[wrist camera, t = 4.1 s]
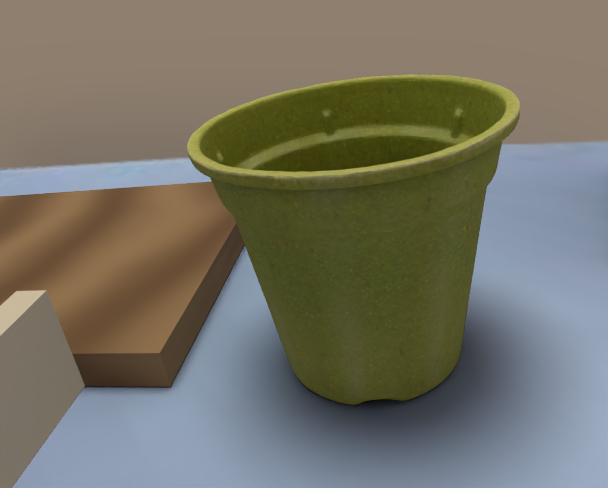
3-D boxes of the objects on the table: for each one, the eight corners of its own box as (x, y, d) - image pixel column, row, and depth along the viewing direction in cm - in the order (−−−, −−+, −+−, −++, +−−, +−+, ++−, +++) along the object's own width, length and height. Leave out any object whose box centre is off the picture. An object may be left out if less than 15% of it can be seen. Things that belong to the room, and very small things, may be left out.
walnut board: (-233, 384, 24) (-254, 356, 23) (2, 218, 38) (-6, 197, 37) (170, 386, 20) (159, 352, 20) (266, 201, 34) (262, 178, 33)
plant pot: (399, 511, 15) (371, 204, 11) (191, 369, 21) (125, 142, 17) (560, 330, 20) (581, 81, 16) (356, 260, 27) (336, 69, 23)
